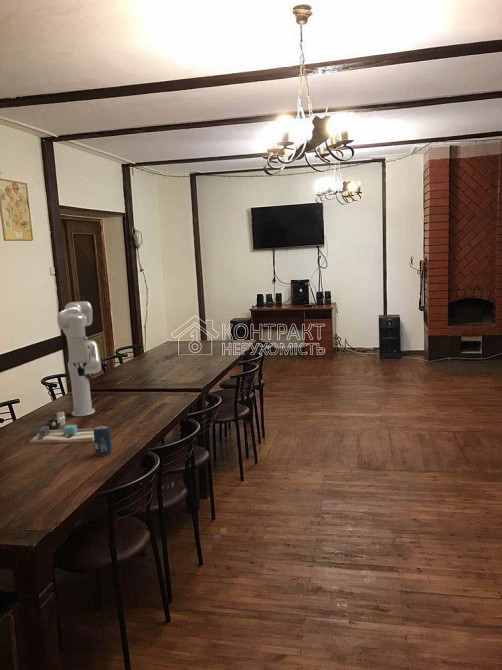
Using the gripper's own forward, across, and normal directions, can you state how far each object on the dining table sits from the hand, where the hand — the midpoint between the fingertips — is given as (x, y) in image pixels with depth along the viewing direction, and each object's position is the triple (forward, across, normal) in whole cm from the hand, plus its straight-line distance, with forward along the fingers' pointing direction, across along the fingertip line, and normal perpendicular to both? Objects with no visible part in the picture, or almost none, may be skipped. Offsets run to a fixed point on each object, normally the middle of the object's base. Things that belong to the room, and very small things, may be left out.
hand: (81, 375), depth 271 cm
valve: (+28, +15, -2) cm, 32 cm away
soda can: (+27, -20, +38) cm, 51 cm away
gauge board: (+27, +5, +16) cm, 32 cm away
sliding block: (+25, +3, +16) cm, 30 cm away
